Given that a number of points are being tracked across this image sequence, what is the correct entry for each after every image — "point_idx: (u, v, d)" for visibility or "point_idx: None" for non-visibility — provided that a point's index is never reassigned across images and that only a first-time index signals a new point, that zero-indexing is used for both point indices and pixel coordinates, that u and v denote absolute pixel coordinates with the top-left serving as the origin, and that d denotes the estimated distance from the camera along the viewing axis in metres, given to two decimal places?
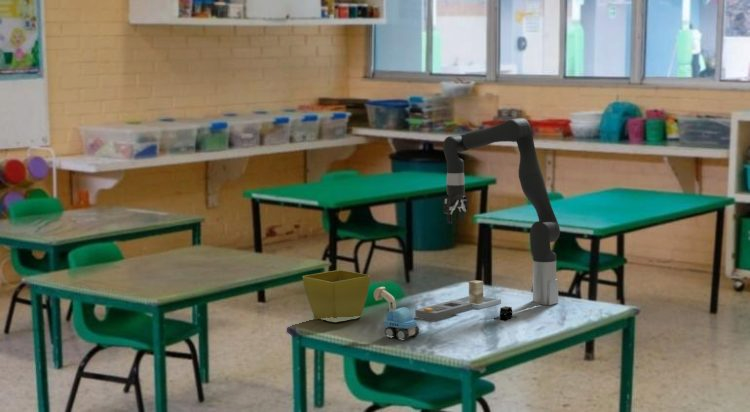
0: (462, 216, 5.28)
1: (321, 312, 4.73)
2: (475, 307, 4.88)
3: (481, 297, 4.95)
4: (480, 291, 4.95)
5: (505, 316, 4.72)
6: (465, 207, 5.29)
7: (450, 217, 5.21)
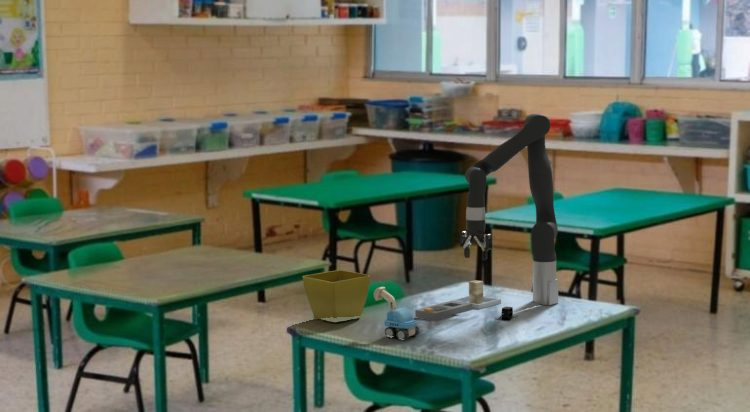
0: (468, 252, 4.97)
1: (321, 312, 4.73)
2: (475, 307, 4.88)
3: (481, 297, 4.95)
4: (480, 291, 4.95)
5: (507, 316, 4.72)
6: (464, 243, 4.98)
7: None
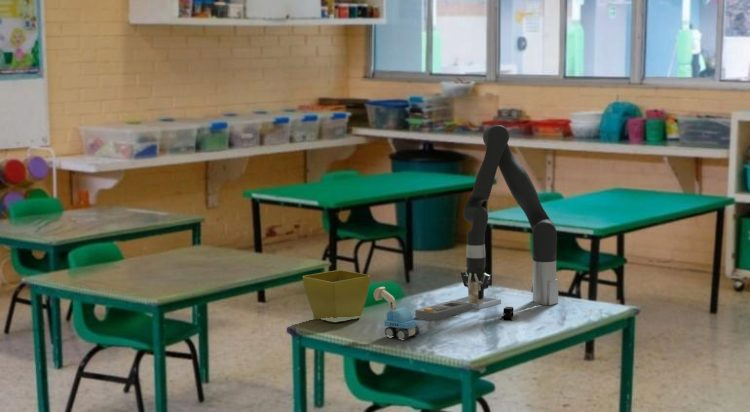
0: None
1: (321, 312, 4.73)
2: (475, 307, 4.88)
3: None
4: None
5: (509, 316, 4.72)
6: (468, 283, 4.98)
7: None
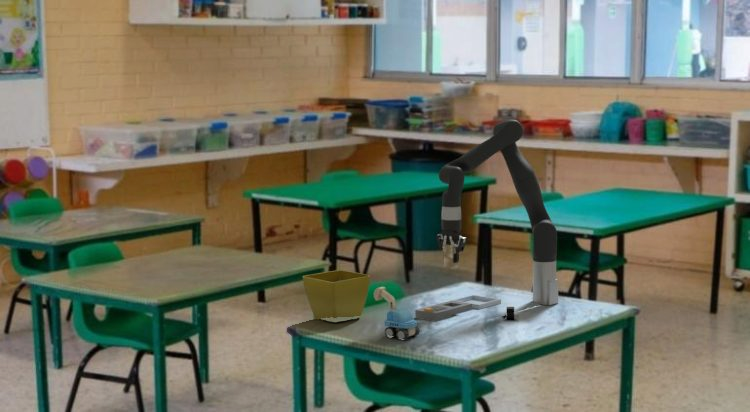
0: None
1: (321, 312, 4.73)
2: (475, 307, 4.88)
3: None
4: None
5: (513, 316, 4.72)
6: None
7: None
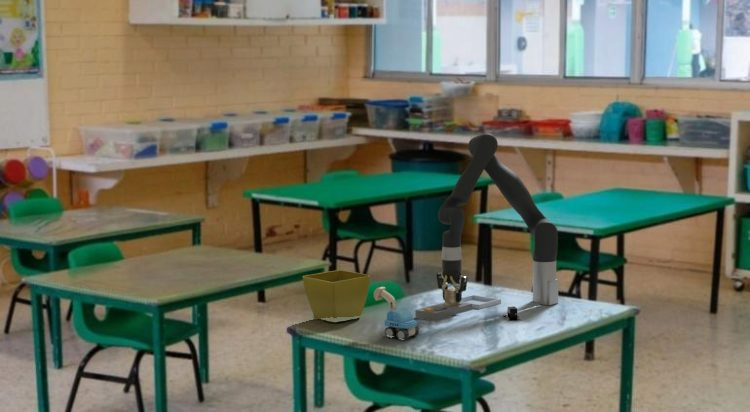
0: None
1: (321, 312, 4.73)
2: (475, 307, 4.88)
3: (457, 305, 4.85)
4: None
5: (516, 316, 4.72)
6: (443, 285, 4.88)
7: None
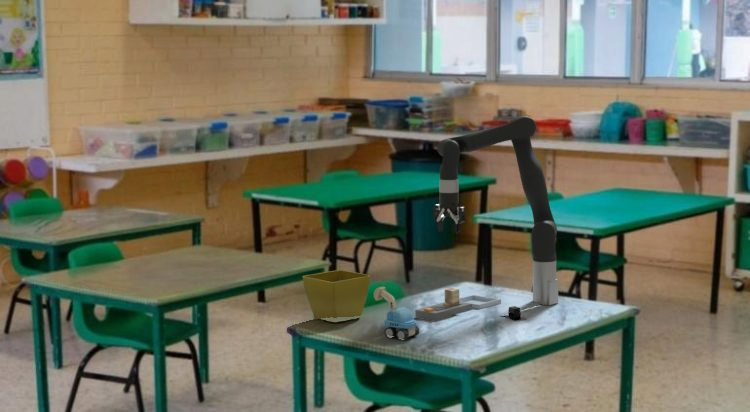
0: (442, 226, 4.93)
1: (321, 312, 4.73)
2: (475, 307, 4.88)
3: (457, 305, 4.85)
4: (456, 299, 4.84)
5: (519, 315, 4.73)
6: (438, 216, 4.94)
7: None
